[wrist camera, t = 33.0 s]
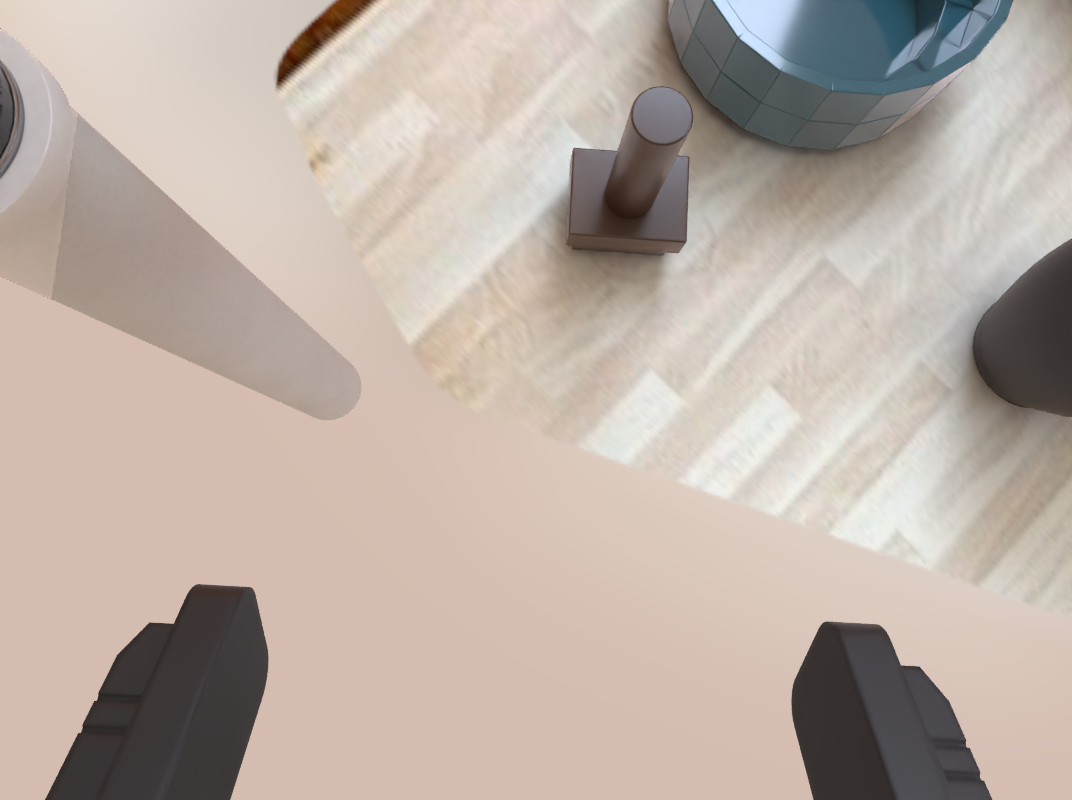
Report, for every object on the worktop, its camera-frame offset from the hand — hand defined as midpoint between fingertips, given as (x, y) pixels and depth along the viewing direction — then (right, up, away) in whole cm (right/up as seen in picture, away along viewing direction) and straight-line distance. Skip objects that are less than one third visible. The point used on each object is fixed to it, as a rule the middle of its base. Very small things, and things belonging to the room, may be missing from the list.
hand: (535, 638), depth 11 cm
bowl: (+13, +22, +28) cm, 39 cm away
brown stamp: (+4, +12, +27) cm, 29 cm away
